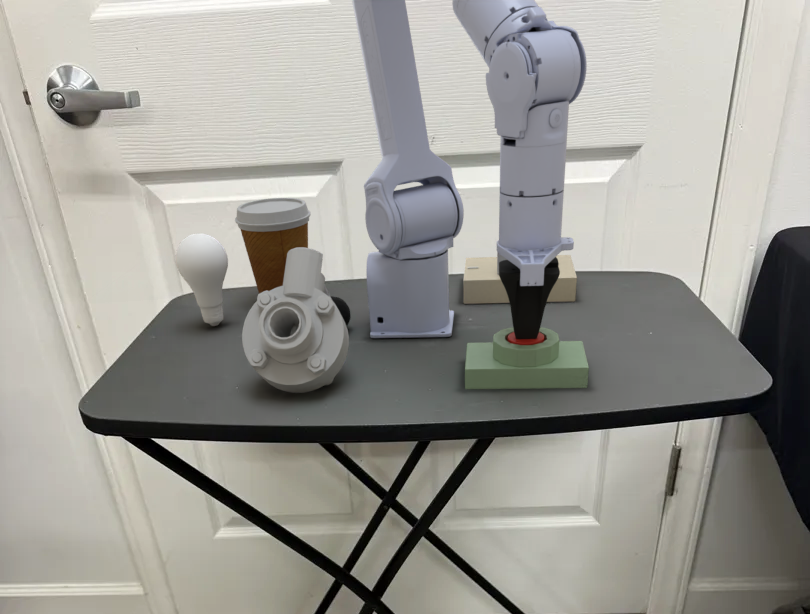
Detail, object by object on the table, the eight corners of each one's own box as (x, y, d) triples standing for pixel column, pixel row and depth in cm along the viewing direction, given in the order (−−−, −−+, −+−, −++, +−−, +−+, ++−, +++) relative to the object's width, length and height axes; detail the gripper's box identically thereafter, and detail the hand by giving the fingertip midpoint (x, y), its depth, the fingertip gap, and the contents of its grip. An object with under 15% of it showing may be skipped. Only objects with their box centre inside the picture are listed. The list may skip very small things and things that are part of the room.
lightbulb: (249, 323, 97) (233, 231, 91) (208, 337, 93) (189, 243, 87) (220, 313, 100) (203, 225, 94) (180, 327, 97) (159, 236, 91)
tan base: (463, 305, 98) (463, 280, 96) (466, 278, 107) (465, 255, 105) (575, 303, 96) (577, 277, 95) (568, 276, 105) (570, 252, 104)
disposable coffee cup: (261, 289, 108) (246, 197, 101) (327, 289, 107) (317, 195, 100) (239, 312, 100) (222, 215, 93) (311, 312, 99) (298, 213, 92)
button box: (465, 389, 77) (464, 351, 75) (467, 362, 83) (466, 326, 81) (587, 388, 76) (590, 349, 74) (580, 360, 82) (583, 323, 79)
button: (507, 360, 77) (508, 343, 76) (507, 346, 80) (507, 330, 79) (544, 359, 76) (545, 342, 75) (542, 346, 79) (543, 329, 78)
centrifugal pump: (364, 429, 92) (380, 307, 93) (330, 380, 72) (350, 227, 74) (280, 421, 93) (297, 301, 94) (225, 370, 74) (247, 220, 75)
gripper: (584, 207, 63) (572, 364, 71) (570, 173, 75) (561, 311, 82) (497, 210, 64) (495, 365, 71) (497, 176, 75) (495, 312, 83)
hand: (526, 336), depth 77 cm, fingers closed, pressing on button
